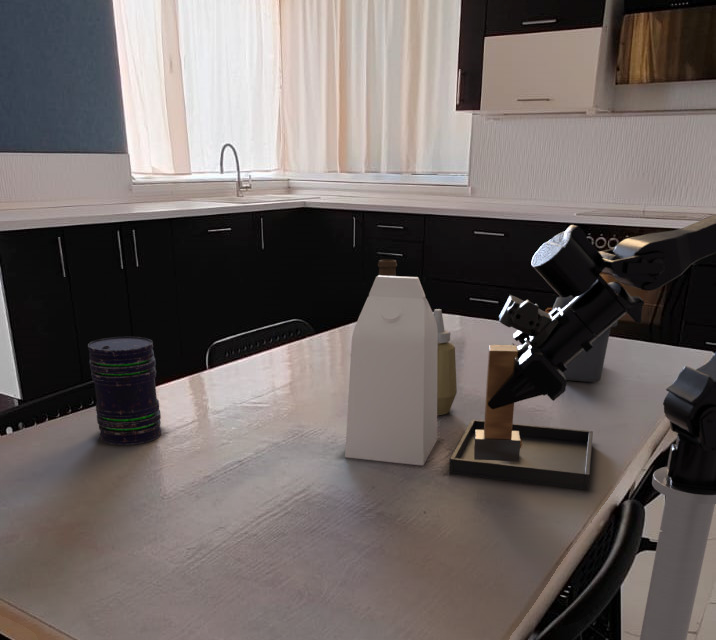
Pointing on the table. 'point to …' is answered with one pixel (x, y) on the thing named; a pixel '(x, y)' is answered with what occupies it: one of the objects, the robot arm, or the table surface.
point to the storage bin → (585, 353)
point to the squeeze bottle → (445, 367)
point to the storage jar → (125, 390)
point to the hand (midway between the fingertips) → (489, 402)
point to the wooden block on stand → (498, 411)
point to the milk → (393, 375)
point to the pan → (531, 457)
